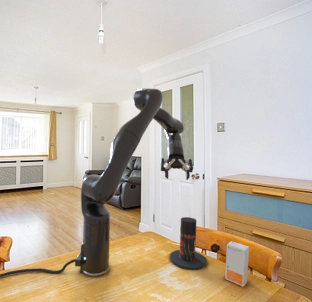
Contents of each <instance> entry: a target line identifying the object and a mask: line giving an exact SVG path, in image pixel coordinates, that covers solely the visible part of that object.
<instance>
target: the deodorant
mask: <svg viewBox="0 0 312 302" xmlns="http://www.w3.org/2000/svg"><path fill="white" fill-rule="evenodd" d="M179 232H180V234H179V250H180V258H181V259H182V260H184V261H194V260H195V252H196V245H197V244H196V243H197V240H196V239H197V219H196V218H194V217H189V216H188V217H187V216H184V217H183V216H182V217H181V218H180V230H179Z"/></svg>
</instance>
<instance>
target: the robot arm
mask: <svg viewBox="0 0 312 302" xmlns="http://www.w3.org/2000/svg"><path fill="white" fill-rule="evenodd" d="M132 100H133V105H134V107H135V108H136V109H137V110H139V111H140V112H138V114H136V115H135V116H133V117H132V118H130V119H129V120H128V121H126V122H125V123H124V124H122V126H120V128H119V130H118V131H117V133H116V134H115V136H114V138H113V140H112V142H111V146H110V159H109V162H108V164H107V165H106V168H105V169H104V171H103V173H102V174H100V175H99V174H90V175H88V176H86V177H85V178H84V179H83V181H82V184H81V188H80V209H81V215H82V217H83V220H82V221H83V224H82V225H83V227H82V243H81V245H80V252H79V254H78V255H77V257H76V258H73V259H71V260H69V261H67V262H66V263H64V265H63V266H62V268H61V269H58V270H53V269H47V268H41V267H38V268H24V269H23V268H22V269H15V270H10V271H6V272H3V273H0V278H3V277H6V276H10V275H15V274H20V273H34V272H43V273H47V274H52V275H53V274H56V275H57V274H61V273H62V272H64V271H65V270H66V268H67V267H68V266H69V265H71V264H73V263H74V267H78V268H79V269H80V270H79V273H80V274H83V275H85V276H87V277H101V276H103V275H105V274H107V273H108V272H109V270H110V241H111V240H110V238H111V237H110V233H111V213H110V211H109V210H108V208H106V205H105V204H108V203H109V202H111V201H112V199H113V198H114V197H115V195H116V192H117V191H118V188H119V185H120V183H121V181H122V178H123V176H124V173H125V171H126V169H127V168H128V165H129V163H130V161H131V159H132V157H133V156H134V154H135V151H136V150H137V149H138V146H139V144H140V143H141V140H142V138H143V136H144V134H145V132H146V131H147V129H148V127H149V126H150V124H151V122H152V121H153V120H154V121H155V122H157V124H159V125H160V126H161V128H163V132H164V135H165V137H166V139H167V150H166V151H167V159H165V158H164V157H162V158H161V159H160V160H161V161H160V172H164V178H165V179H166V180H168V179H169V171H171V170H173V169H174V170H175V169H177V170H180V169H181V170H182V171H183V172H184V173H185V180H186V181H188V180H189V179H190V177H191V174H190V173H193V172H194V164H193V160H192V158H189V159H188V160H187V159H185V153H184V152H185V151H184V145H183V138H182V136H181V134H183V133H184V131H185V126H184V123H183V122H182V121H180V120H179V119H178V118H176V117H173V116H172V115H171V113H170V112H168V111H167V110H166V109H164V108H162V105H163V101H164V95H163V92H162V91H161V90H160V89H158V88H145V87H144V88H139V89H137V90H136V91H135V92H134V94H133V98H132ZM166 164H167V165H166ZM165 165H166V166H165Z"/></svg>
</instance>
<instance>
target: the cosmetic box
mask: <svg viewBox="0 0 312 302" xmlns="http://www.w3.org/2000/svg"><path fill="white" fill-rule="evenodd" d="M249 257H250V246H248V245H245V244H242V243H240V242H239V243H238V242H235V241H232V240H231V241H229V242H228V243H227V244H226V253H225V275H224V279H225V280H226V281H228V282H231V283H233V284H235V285H238V286H240V287H243V288H244V287H245V285H246V284H247V283H248V280H249V279H248V278H249V277H248V275H249V259H250V258H249Z"/></svg>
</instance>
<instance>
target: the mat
mask: <svg viewBox="0 0 312 302" xmlns="http://www.w3.org/2000/svg"><path fill="white" fill-rule="evenodd" d="M207 260H208V259H207V258H206V257H205V255H204V254H201V253H200V252H197V251H195V260H194V261H184V260H182V259H181V258H180V249H177V250H173V251H172V252H171V253H170V255H169V261H170V262H171V263H172V264H173V265H174V266H176V267H178V268H181V269H184V270H189V271H196V270H197V271H198V270H201V269H204V268H205V267H206V266H207V264H208V261H207Z"/></svg>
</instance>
